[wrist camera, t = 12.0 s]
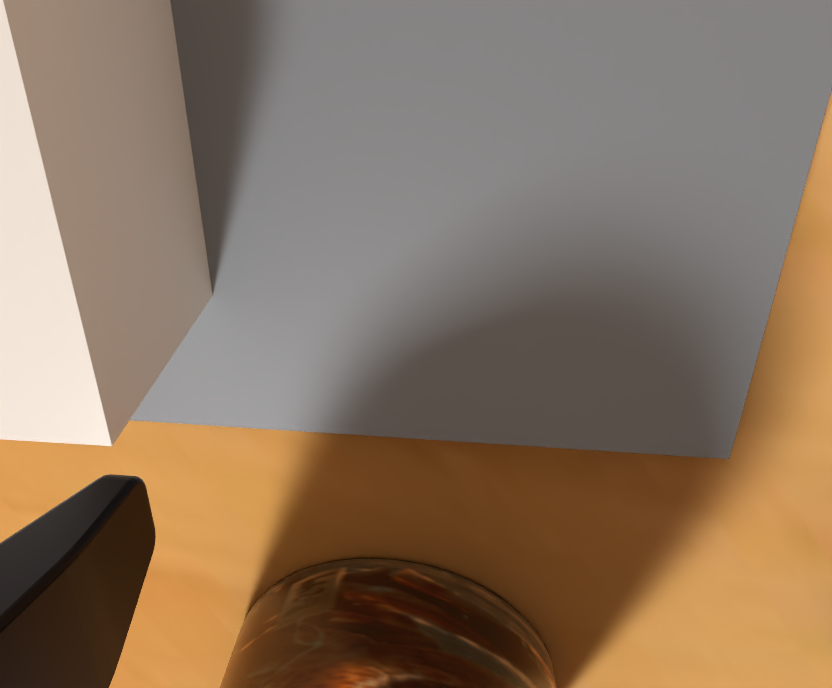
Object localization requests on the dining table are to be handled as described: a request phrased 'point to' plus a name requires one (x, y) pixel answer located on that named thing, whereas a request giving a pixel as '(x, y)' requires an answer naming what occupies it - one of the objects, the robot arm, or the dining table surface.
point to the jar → (385, 632)
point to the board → (492, 214)
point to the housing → (92, 215)
